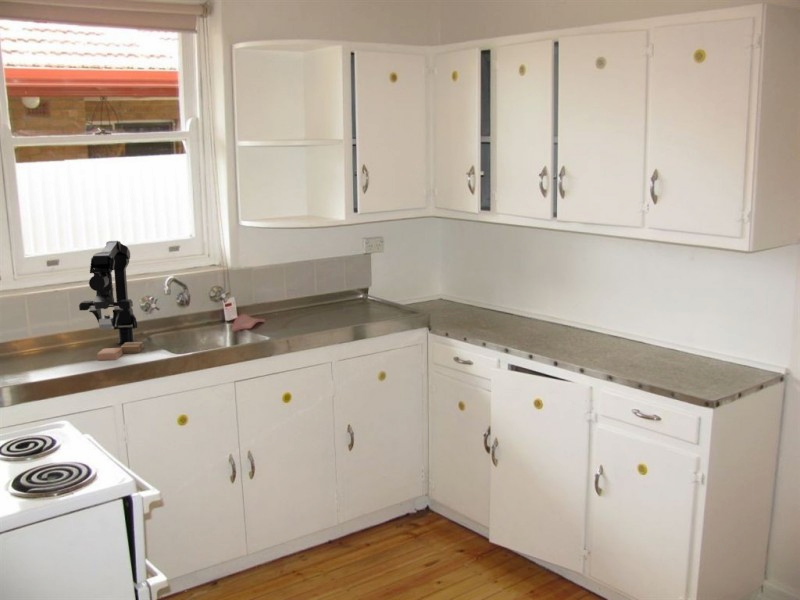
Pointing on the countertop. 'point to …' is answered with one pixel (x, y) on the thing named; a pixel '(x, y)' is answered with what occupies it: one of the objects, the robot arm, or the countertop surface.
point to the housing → (106, 322)
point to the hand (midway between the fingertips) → (108, 326)
